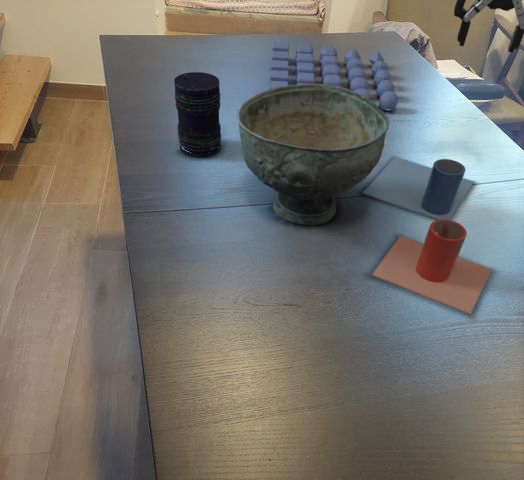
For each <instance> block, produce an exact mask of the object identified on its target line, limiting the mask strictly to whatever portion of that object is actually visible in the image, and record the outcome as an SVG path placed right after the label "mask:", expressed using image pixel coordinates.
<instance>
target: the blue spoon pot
mask: <svg viewBox="0 0 524 480" xmlns="http://www.w3.org/2000/svg"><path fill="white" fill-rule="evenodd" d="M431 168H432V171H431V174H430V177H429V180H428V183H427V186H426V190H425V193H424V196H423V199H422V202H421V206H422V208H423V209H424V210H425V211H427V212H429V213H431V214H435V215H445V214H448V213H449V212H450V211H451V208H452V206H453V203H454V200H455V198H456V195H457V192H458V189H459V187H460V184H461V181H462V179H463V178H464V176H465V174H466V166H465V165H464V164H462V163H461V162H460V161H457V160H454V159H449V158H441V159H437V160H434V162H433V164H432V167H431Z"/></svg>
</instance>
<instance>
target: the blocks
mask: <svg viewBox="0 0 524 480" xmlns="http://www.w3.org/2000/svg"><path fill="white" fill-rule="evenodd" d="M271 47H272V49H271V62H270V75H269V88H268V90H270V89H273V88H276V87H280V86H288V85H289V69H290V68H289V67H290V66H289V65H290V64H289V61H290V60H289V59H290V58H289V56H290V54H289V52H290V51H289V50H290V43H289V42H285V41H284V42H283V41H272V46H271ZM295 49H296V50H295V69H296V68H297V71H296V70H295V80H296V79H297V83H296V82H295V85H298V84H316V75H315V72H316V71H315V64H314V63H315V57H314V46H313V45H312V44H310V43H308V44H307V43H298V44H297V46H296V48H295ZM296 58H297V60H296ZM361 58H362V57H361V55H360V53H359V52H358V50H357V49H356V48H351V49H350V50H348V52H346V53H345V54H344V56H343V60H344V62H345V61H346V62H348V63H346V62H345V63H346V64H345V71H346V72H345V73H346V75H347V83H348V82H349V84H350V85H349V84H348V85H349V89H348V90H351V91H353V92H356V93H358V94H361V95H363V96H364V97H366V98H367V99H368V100H370V101H372V95H371V92H370V90H369V83H368V81H367V79H366V77H367V76H366V71H365V70H364V64H363V60H362V59H361ZM320 60H322V61H321V63H320V71H321V70H322V73H321V72H320V74H321V82H322V81H323V84H328V85H334V86H338V87H341V88H343V87H342V86H343V79H342V77H341V69H340V66H339V65H340V62H339V58H338V50H337V49H336V48H335V46H330V45H325V46H323V47H322V48H321V49H320V53H319V61H320ZM368 61H369V62H370V64H371V65H372V64H373V65H372V67H371V68H370V72H371V76H372V77H373V84H374V85H375V87H376V88H375V89H376V91H375V92H376V95H377V97H378V98H379V103H378V104H379V107H380V106H381V107H382V108H381V107H380V108H381V110H382V111H383V112H390V111H393V110H394V109H396V108H397V106H398V103H399V97H398V94H397V93H396V92H395V84H394V83H393V82H392V78H391V74H390V72H389V70H388V65H387V64H388V63H386V62H385V59H384V57H383V55H382V54H381V53H380V51H379V50H377V51H376V52H375V53H373V54H372V55H371V56H370V57H369V58H368ZM347 73H348V74H347ZM383 108H385V109H383ZM386 109H392V110H386Z"/></svg>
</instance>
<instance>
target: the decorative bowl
mask: <svg viewBox="0 0 524 480" xmlns="http://www.w3.org/2000/svg"><path fill="white" fill-rule="evenodd" d="M236 112H237V113H236V120H237V123H238V129H239V138H240V147H241V154H242V157H243V161H244V163H245V165H246V167H247V168H248V169H249V170H250V172H251V173H252V174H253V176H255V177H256V178H257V179H258V180H259V181H260V182H261V183H262V184H263V185H266V186H267V187H268V188H270V189H273V190H275V191H276V192H277V193H276V194H275V197H274V198H273V201H272V204H273V205H272V209H273V211H274V212H275V214H276V215H278V217H281V219H284V220H285V221H288V222H291V223H294V224H298V225H303V226H314V225H315V226H316V225H321V224H324V223H326V222H329V221H330V220H331V219H332V218H333V217H334V216H335V214H336V212H337V200H336V198H335V197H336V196H338V195H341V194H343V193H345V192H347V191H349V190H351V189H353V188H354V187H356V186H357V185H359V184H360V183H362V181H363V180H365V179H366V178H367V177H368V176H369V175H370V174H371V173H372V171H374V169H375V168H376V167H377V165H378V163H379V162H380V160H381V157H382V154H383V150H384V147H385V139H386V135H387V132H388V130H389V127H390V119H389V116H387V115H386V113H385V111H384V110H383V109H381V108H379V107H378V105H377V103H375V102H374V101H372V100H371V101H370V100H368V99H367V98H366V97H364V96H363V95H361V94H358V93H356V92H353V91H351V90H349V89H348V88H346V87H342V88H341V87H338V86H334V85H328V84H322V83H315V84H298V85H296V84H288V86H280V87H276V88H273V89H270V90H269V89H267V90H265V91H261V92H259V93H257V94H254V95H253V96H252V97H249V98H248V99H246V101H244V102H243V103H241V105H240V106H239V108H238V109H237V111H236Z"/></svg>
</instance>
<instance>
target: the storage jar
mask: <svg viewBox="0 0 524 480" xmlns="http://www.w3.org/2000/svg"><path fill="white" fill-rule="evenodd" d="M173 84H174V100H175V104H174V105H175V108H176V110H177V119H178V120H177V121H178V123H177V138H178V142H179V151H180V152H181V154H183V156H187V157H189V158H194V159H206V158H212V157H214V156H216V155H217V154H219V153H220V152H221V150H222V146H221V139H222V128H221V123H220V109H221V92H220V89H221V88H220V79H219V78H218V77H217V76H216V75H214V74H211V73H208V72H203V71H191V72H184V73H182V74H179V75H177V76H176V77H175V78H174V80H173ZM180 145H181V146H180ZM181 147H183V148H184V149H185V150H187V151H189V152H187V151H185V150H183V149H182V148H181ZM218 147H219V148H218ZM190 152H191V153H190Z"/></svg>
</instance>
